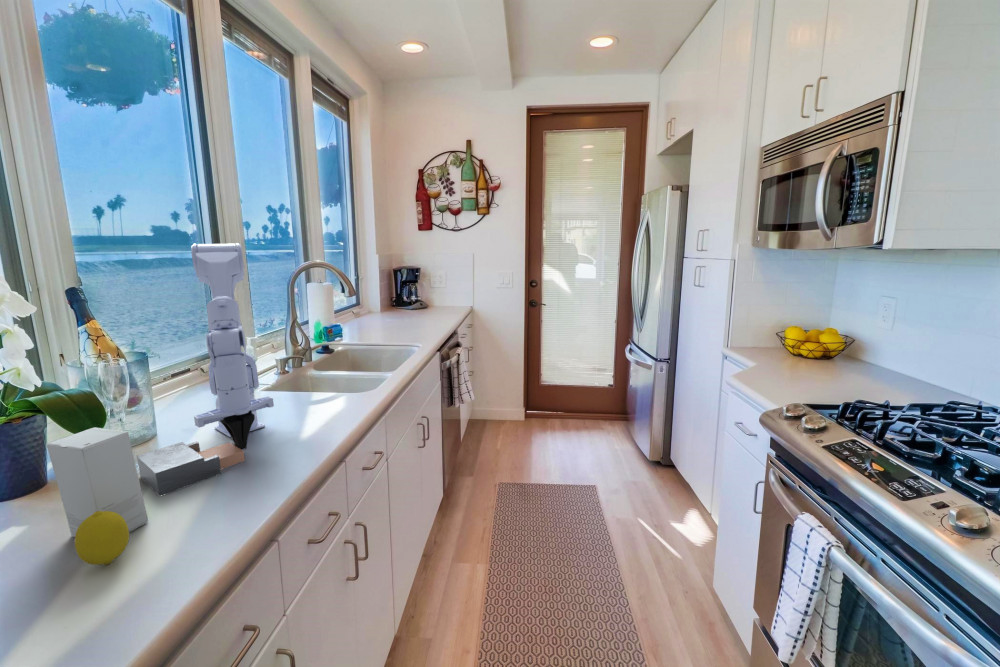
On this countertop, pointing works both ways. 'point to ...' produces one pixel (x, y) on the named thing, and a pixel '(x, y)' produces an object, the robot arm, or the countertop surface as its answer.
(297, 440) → the countertop surface
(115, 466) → the skincare box
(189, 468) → the low gray notched block
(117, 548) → the lemon
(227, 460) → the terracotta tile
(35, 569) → the countertop surface
